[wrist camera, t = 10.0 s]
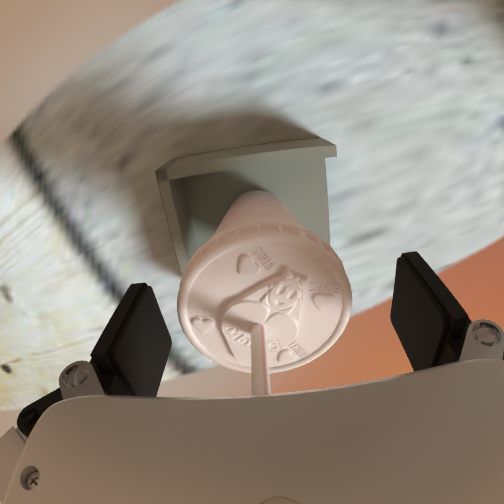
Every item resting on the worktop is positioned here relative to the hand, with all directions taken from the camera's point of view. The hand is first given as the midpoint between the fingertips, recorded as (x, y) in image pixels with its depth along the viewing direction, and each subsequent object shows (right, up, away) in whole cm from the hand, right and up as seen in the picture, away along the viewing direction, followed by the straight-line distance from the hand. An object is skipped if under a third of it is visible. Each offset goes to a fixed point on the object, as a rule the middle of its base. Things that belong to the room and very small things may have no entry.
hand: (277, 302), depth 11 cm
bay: (-1, +4, +9) cm, 10 cm away
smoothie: (-1, +4, +8) cm, 9 cm away
